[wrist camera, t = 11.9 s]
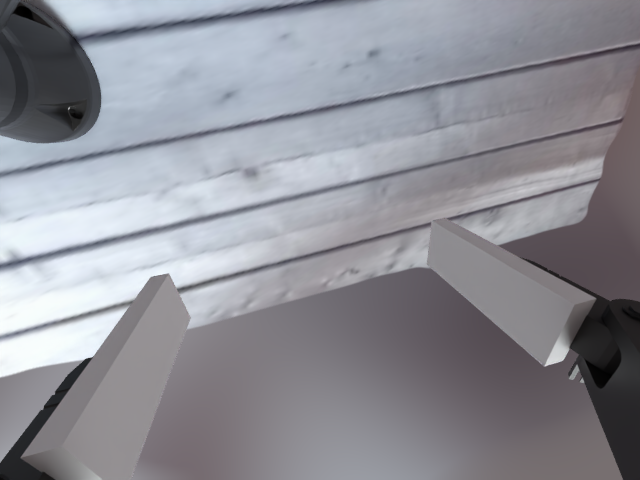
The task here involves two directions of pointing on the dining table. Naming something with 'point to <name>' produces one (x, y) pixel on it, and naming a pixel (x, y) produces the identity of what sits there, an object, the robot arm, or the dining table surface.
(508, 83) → the dining table surface
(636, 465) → the robot arm
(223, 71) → the dining table surface
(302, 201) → the dining table surface
